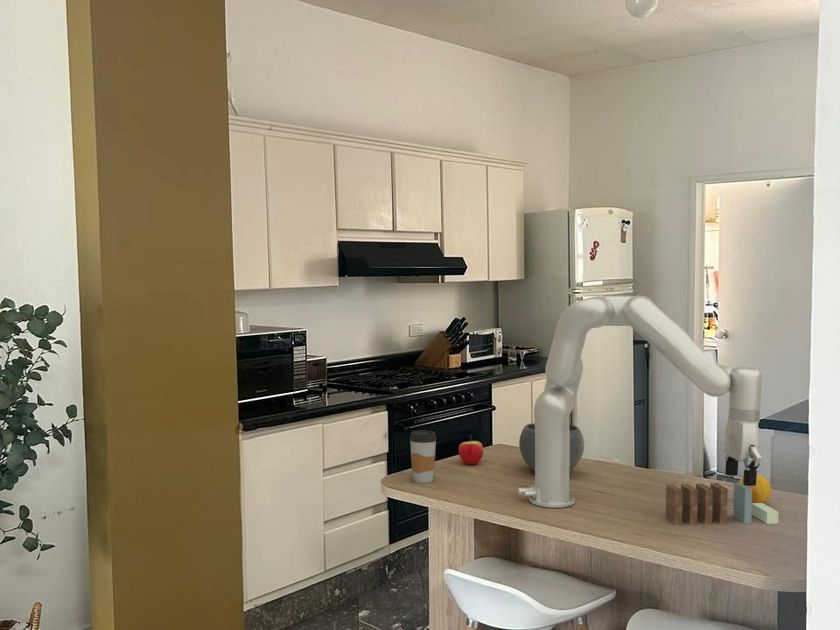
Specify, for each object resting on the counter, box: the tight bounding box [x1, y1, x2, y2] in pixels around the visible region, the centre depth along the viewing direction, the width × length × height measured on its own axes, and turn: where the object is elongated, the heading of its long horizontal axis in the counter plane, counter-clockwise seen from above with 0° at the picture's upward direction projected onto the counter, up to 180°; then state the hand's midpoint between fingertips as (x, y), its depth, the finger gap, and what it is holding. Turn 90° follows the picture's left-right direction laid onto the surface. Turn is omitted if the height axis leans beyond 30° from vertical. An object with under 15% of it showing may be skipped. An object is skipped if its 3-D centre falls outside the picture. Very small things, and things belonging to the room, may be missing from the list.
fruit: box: [738, 474, 772, 504], centre depth 223 cm, size 9×8×8 cm
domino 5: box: [732, 482, 752, 524], centre depth 208 cm, size 2×6×9 cm, turn 5°
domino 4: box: [709, 482, 729, 525], centre depth 208 cm, size 2×6×9 cm, turn 5°
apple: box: [458, 435, 484, 465], centre depth 268 cm, size 8×8×10 cm
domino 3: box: [695, 483, 713, 525], centre depth 207 cm, size 2×6×9 cm, turn 5°
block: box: [751, 503, 779, 525], centre depth 209 cm, size 3×8×3 cm, turn 5°
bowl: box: [518, 422, 585, 472], centre depth 256 cm, size 20×20×15 cm
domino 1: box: [665, 483, 683, 526], centre depth 207 cm, size 2×6×9 cm, turn 5°
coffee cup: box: [409, 429, 437, 484], centre depth 247 cm, size 8×8×15 cm
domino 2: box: [680, 483, 698, 526], centre depth 207 cm, size 2×6×9 cm, turn 5°
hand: (740, 480), depth 208 cm, fingers open, 9 cm apart
